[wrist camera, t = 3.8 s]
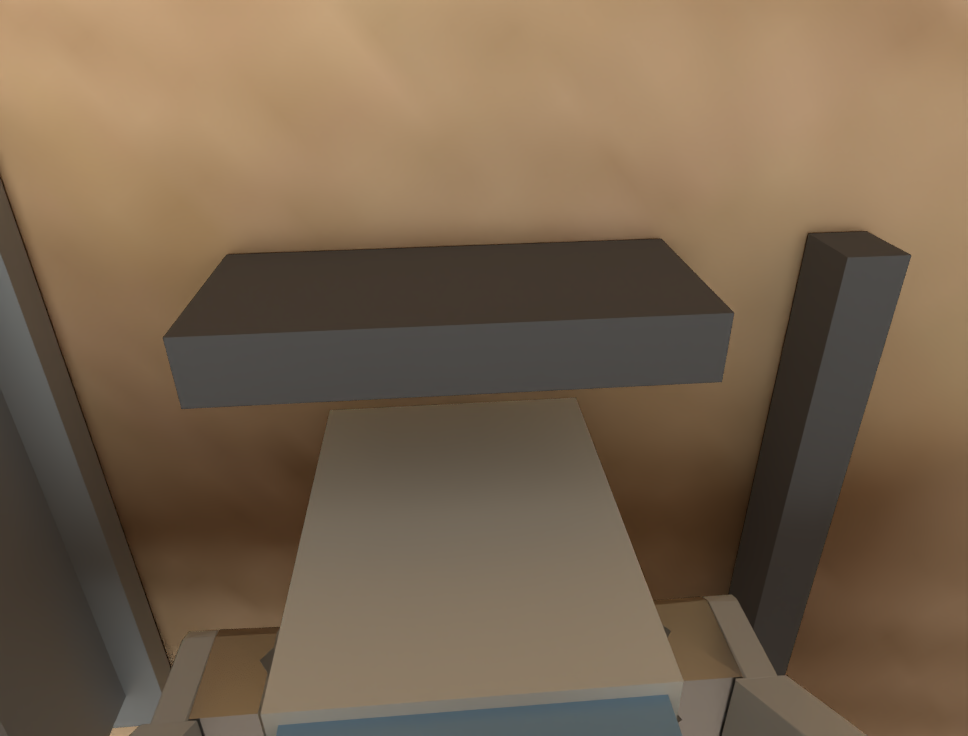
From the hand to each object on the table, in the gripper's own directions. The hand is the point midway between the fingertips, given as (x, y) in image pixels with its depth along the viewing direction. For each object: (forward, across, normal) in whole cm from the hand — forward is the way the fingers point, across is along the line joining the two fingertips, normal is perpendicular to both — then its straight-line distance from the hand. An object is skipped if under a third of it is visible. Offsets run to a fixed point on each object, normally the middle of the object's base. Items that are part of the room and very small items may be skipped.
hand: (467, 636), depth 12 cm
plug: (+3, 0, 0) cm, 3 cm away
